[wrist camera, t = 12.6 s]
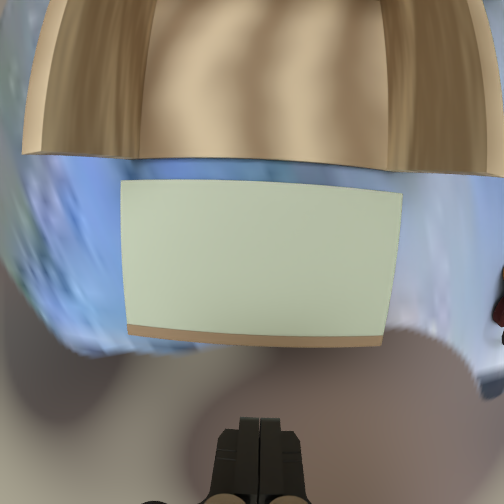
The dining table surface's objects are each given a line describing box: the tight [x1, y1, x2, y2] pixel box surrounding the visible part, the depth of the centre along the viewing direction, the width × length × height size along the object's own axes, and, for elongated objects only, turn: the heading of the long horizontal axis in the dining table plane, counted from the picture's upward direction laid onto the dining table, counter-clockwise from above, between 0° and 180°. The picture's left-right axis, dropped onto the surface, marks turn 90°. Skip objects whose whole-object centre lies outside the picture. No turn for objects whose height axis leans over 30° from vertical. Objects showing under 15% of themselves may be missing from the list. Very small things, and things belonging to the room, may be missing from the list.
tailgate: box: [121, 180, 403, 347], centre depth 22 cm, size 20×1×12 cm
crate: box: [22, 0, 504, 178], centre depth 13 cm, size 20×16×12 cm
